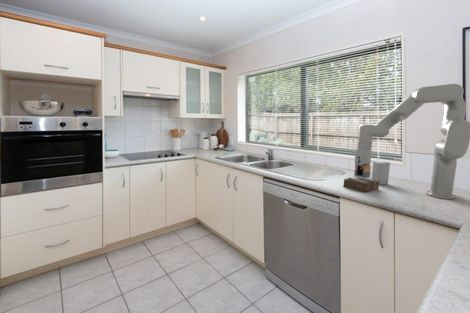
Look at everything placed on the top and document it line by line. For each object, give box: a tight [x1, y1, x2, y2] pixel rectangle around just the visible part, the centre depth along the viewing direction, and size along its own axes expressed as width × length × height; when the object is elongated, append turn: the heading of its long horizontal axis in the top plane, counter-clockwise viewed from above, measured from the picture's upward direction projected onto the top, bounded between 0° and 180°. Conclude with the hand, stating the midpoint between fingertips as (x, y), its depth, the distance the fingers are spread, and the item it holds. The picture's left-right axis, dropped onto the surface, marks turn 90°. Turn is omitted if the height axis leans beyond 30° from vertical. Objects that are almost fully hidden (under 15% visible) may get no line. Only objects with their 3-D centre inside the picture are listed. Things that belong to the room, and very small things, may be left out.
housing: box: [353, 164, 372, 178], centre depth 150 cm, size 5×7×7 cm
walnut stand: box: [343, 176, 380, 193], centre depth 152 cm, size 14×14×6 cm
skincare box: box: [371, 160, 391, 186], centre depth 162 cm, size 8×6×15 cm
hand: (362, 174), depth 151 cm, fingers closed on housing, 5 cm apart
